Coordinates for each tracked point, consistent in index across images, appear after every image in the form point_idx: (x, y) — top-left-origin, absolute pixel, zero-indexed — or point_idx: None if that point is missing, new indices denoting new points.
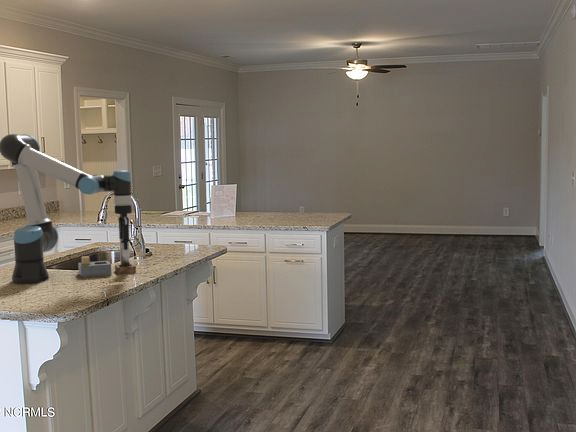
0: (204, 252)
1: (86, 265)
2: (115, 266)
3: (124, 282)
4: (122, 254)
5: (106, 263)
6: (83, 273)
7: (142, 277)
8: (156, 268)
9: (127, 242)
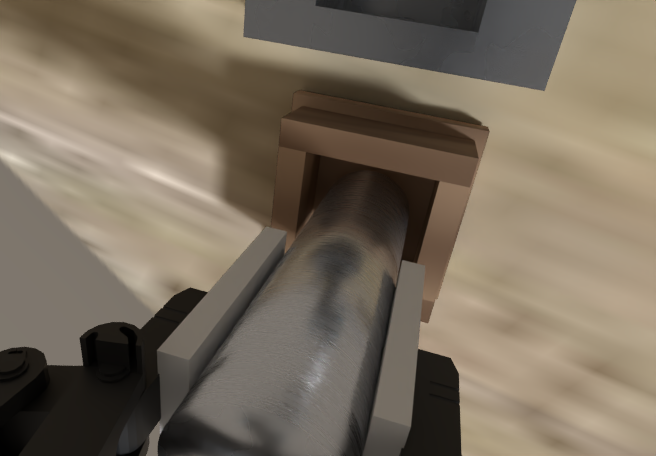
0: None
1: None
2: (441, 147)
3: (70, 64)
4: (273, 243)
5: (397, 19)
6: None
7: (196, 244)
8: (463, 452)
9: (164, 421)
